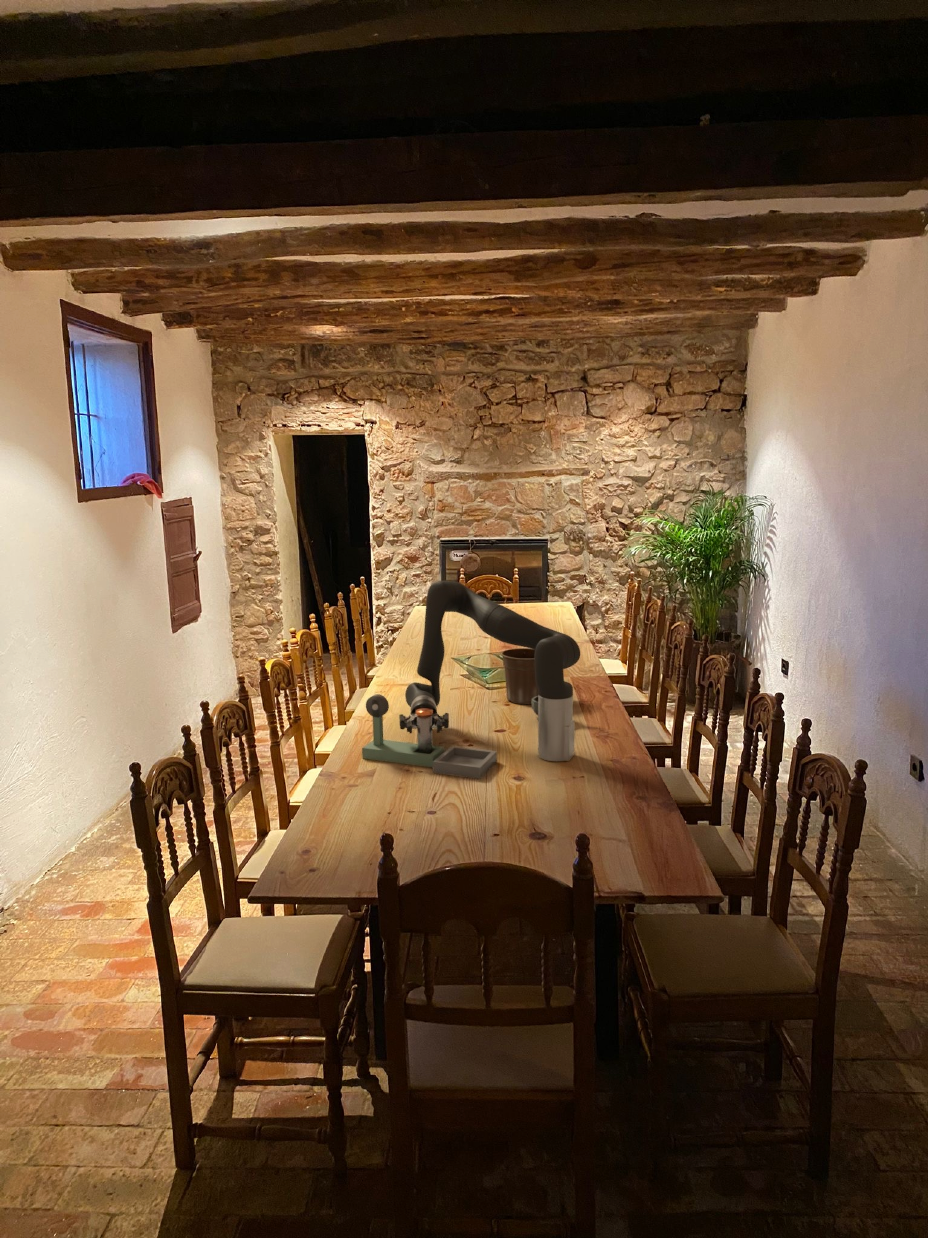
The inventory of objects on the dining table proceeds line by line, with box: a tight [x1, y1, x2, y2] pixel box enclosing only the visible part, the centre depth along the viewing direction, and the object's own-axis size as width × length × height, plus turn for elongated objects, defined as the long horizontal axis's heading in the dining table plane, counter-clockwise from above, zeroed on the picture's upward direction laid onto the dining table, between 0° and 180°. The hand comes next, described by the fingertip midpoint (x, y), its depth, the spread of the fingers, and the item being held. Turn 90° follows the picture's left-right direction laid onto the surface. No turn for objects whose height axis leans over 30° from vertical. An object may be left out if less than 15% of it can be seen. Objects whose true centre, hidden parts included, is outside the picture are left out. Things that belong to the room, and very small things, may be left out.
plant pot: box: [500, 647, 539, 705], centre depth 284 cm, size 16×16×16 cm
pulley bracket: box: [361, 693, 446, 768], centre depth 230 cm, size 21×8×17 cm, turn 69°
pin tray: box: [432, 745, 498, 780], centre depth 223 cm, size 13×13×3 cm
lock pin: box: [416, 708, 434, 754], centre depth 228 cm, size 5×5×14 cm
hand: (424, 729), depth 225 cm, fingers open, 7 cm apart
